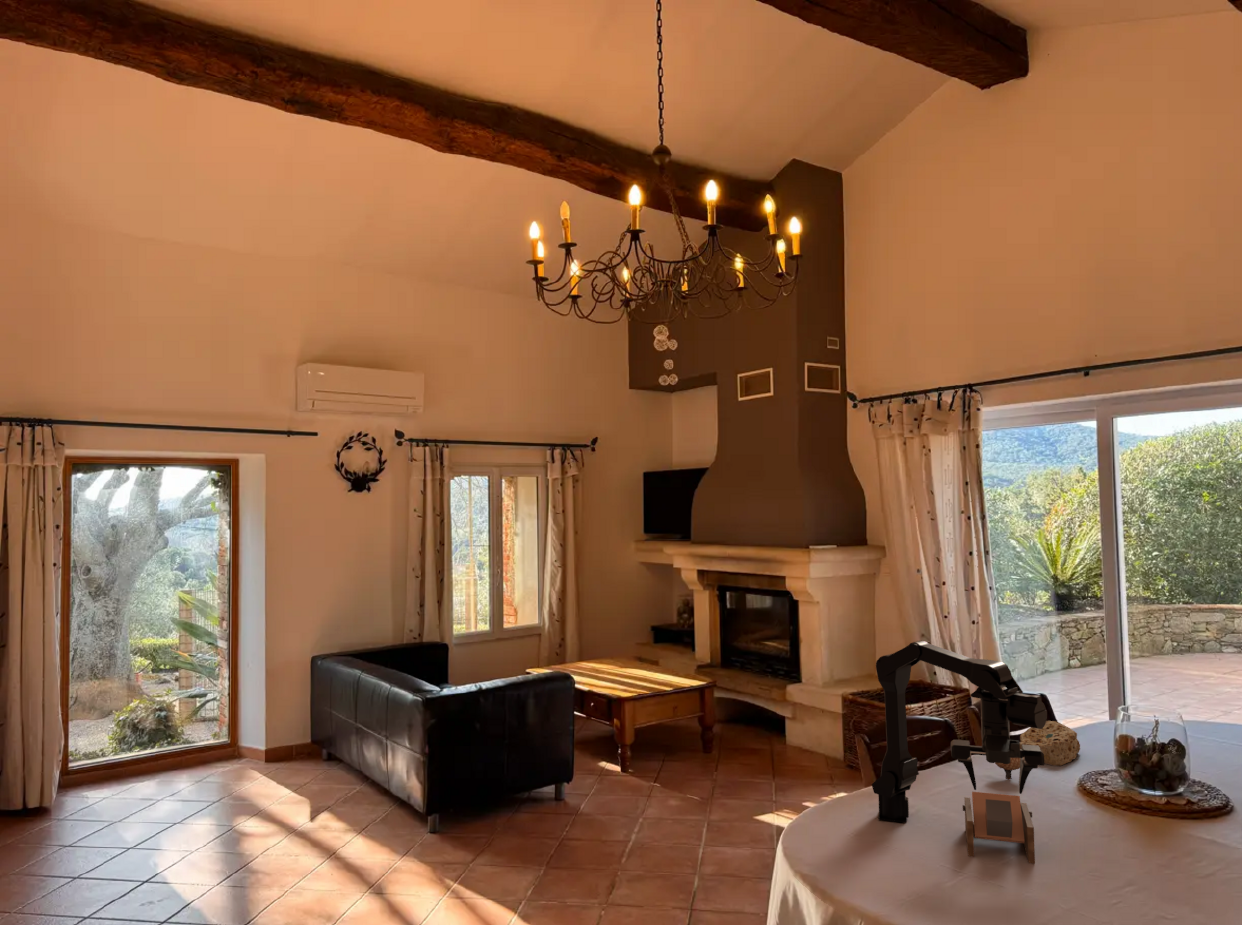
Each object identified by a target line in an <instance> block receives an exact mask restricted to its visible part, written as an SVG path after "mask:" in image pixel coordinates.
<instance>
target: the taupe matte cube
mask: <svg viewBox="0 0 1242 925" xmlns="http://www.w3.org/2000/svg"><path fill="white" fill-rule="evenodd" d="M985 818H986V830H987V835H989V836H998V837H1008V838H1012V823H1013V822H1012V812H1011V803H1010V801H1000V800H989V799H986V804H985Z"/></svg>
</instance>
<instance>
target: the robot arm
mask: <svg viewBox="0 0 1242 925" xmlns="http://www.w3.org/2000/svg"><path fill="white" fill-rule="evenodd" d="M919 662H923V663H927V664H928V665H929V664H930V665H933V666H935V667H938V668H941V669H942V670H946V671H948V672H952V673H955V674H957V675H960V676H961V677H964V678H965V679H967V680H968V681H969V682H970V683H971V684H973V685H974V686H976V687H977V688H976V689H975V691H973V692H972V693H971V694H970V697H971V698H974V699H980V722H981V726H980V727H981V745H970V744H971V743H970V740H964V739H953V740H951V741H950V754H951V758H952V759H957V762H958V763H962V764H963V765H964V767H965V769H966V771H967V773H968V776H969V778H970V781H971V784H972V787H973V790H975V791H976V790H977V782H976V781H977V780H976V774H975V769H974V765H973V758H972V755H974V756H985V760H986V761H987V763H990V764H995V763H1003V764H1010V763H1011V758H1021V759H1020V768H1019V773H1018V774H1019V777H1018V794H1020V795H1022V793H1023V791H1024V788H1025V785H1026V783H1027V779H1028V777H1029V775H1030V773H1031V772H1032V770H1033V769H1038V768H1039V766H1045V763H1044V753H1043V751H1042V749H1041V748H1040V747H1039V746H1037V745H1023V744H1022V749H1020V742H1021V741H1020V739H1019V740H1017V739H1011V738H1010V735H1011V734H1010V722H1011V723H1012V724H1013V725H1017V726H1023V727H1027V728H1031V727H1032V728H1037V729H1042V728H1043V727H1044V726H1045V723H1046V722H1047V721H1048V720H1047V719H1048V710H1047V708H1046V705H1045V703H1044V702H1043V701H1042V696H1041V695H1038V694H1037V695H1036V694H1031V695H1030V694H1024V691H1023V690H1022V688H1021V687H1020V685H1019V684H1018V682H1017V681H1016V680H1015V679H1014V676H1012V672H1011V669H1010V667H1009V665H1007V664H1006V663H1004V662H1002V661H999V660H991V659H987V658H986V659H984V658H981V659H980V658H972V657H970V656H966V655H963V654H961V653H957V652H955V651H951V650H949V649H945V648H942V647H940V646H938V645H933V644H931V643H929V642H927V641H925V640H917V641H913V642H909V644H907V645H906V646H905V647H903V648H901V649H899V650H897V651H895V652H892V653H889V654H884V655H882V656H880V657H879V658H878V659H877V660H876V662H875V671H876V674H877V680H878V682H879V684H880V686H881V688H882V689H883V691H884V709H885V734H886V752H885V754H884V757H883V760H882V762H881V769H880V771H881V772H880V776H879V777H878V778H877V779H876V780H874V781H873V783H872V784H871V787H872V791H873V793H874V794H876V795H878V796H877V797H878V817H877V819H878V820H879V821H885V822H895V823H907V819H908V818H909V815H910V811H909V808H910V806H909V804H910V803H909V797H907V795H906V792H907V791H909V790H911V787H912V784H913V783H915V782H916V781H917V776H919V775H920V772H919V770H918V762H919V761H918V760H919V759H918V758H917V757H913V756H912V755H911V754H910V752H909V747H908V744H909V742H908V728H907V727H908V726H907V725H908V723H907V704H906V702H907V701H906V689H907V687H908V684H909V682H910V680H911V672H912V667H914V666H915V665H918V663H919ZM1003 688H1005V689H1003Z"/></svg>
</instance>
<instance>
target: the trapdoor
mask: <svg viewBox="0 0 1242 925" xmlns="http://www.w3.org/2000/svg"><path fill="white" fill-rule="evenodd" d="M971 798H972V801H971V802H972V817H973V822H974V832H975V833H974V838H975V839H981V840H991V841H1000V842H1009V843H1018V844H1024V843H1025V840H1024V831H1023V822H1022V813H1021V797H1020V795H1011V794H1001V793H993V792H982V791H981V792H980V791H972V792H971ZM986 799H989V800H1000V801H1010V803H1011V812H1012V822H1013V823H1012V838H1008V837H998V836H989V835H987V830H986V818H985V804H986Z"/></svg>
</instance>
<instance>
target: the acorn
mask: <svg viewBox="0 0 1242 925" xmlns="http://www.w3.org/2000/svg"><path fill="white" fill-rule="evenodd" d="M1020 759H1021V758H1011V763H1010V764H1003V763H994V764H995V765H996V766H997V767H998V768H1000V769H1003V770H1004V772H1005V779H1006V780H1009V781H1010V780H1013V778H1012V772H1013V771H1016V770H1020Z"/></svg>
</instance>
